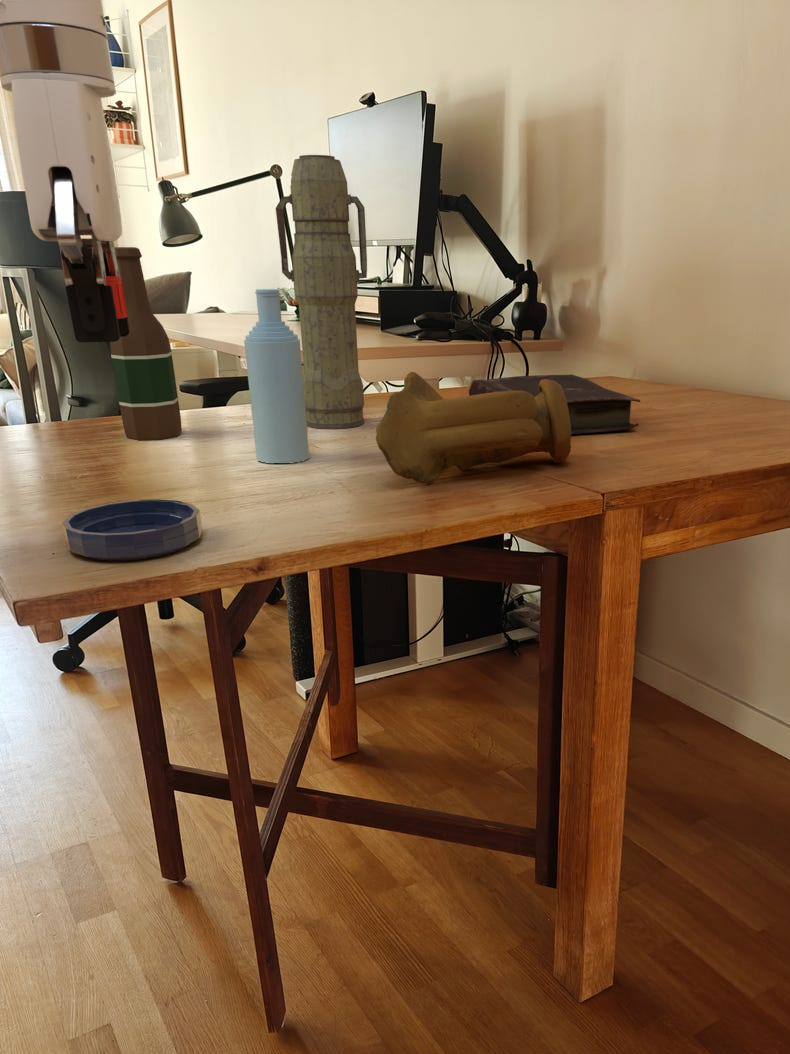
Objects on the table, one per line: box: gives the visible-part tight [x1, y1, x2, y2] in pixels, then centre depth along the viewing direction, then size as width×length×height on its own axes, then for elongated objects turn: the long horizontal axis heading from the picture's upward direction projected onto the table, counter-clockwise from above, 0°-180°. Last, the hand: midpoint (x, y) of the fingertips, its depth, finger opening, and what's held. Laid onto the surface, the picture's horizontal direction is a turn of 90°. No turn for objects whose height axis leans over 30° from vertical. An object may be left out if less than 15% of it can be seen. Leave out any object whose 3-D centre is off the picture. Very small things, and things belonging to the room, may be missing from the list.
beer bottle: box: [109, 246, 183, 441], centre depth 116 cm, size 8×8×24 cm
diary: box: [468, 374, 641, 435], centre depth 130 cm, size 19×25×5 cm
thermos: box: [275, 154, 368, 430], centre depth 122 cm, size 9×12×35 cm
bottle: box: [243, 288, 310, 463], centre depth 103 cm, size 6×6×20 cm
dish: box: [61, 498, 203, 562], centre depth 75 cm, size 11×11×2 cm
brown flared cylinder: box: [375, 371, 572, 485], centre depth 98 cm, size 18×13×22 cm
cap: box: [106, 276, 127, 319], centre depth 68 cm, size 4×4×3 cm
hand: (103, 336), depth 69 cm, fingers closed on cap, 3 cm apart
